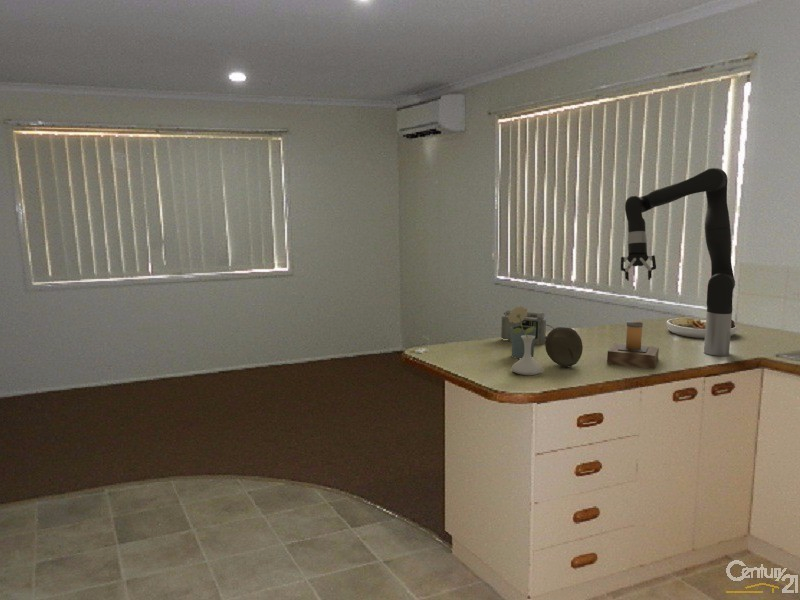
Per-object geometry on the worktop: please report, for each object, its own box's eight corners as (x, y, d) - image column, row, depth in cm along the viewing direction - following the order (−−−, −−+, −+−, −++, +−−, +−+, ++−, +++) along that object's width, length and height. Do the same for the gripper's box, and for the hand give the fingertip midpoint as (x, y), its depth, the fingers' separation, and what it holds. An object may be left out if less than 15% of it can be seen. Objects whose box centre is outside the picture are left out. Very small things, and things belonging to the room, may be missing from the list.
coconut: (586, 364, 241) (587, 326, 239) (576, 372, 229) (578, 332, 227) (550, 359, 248) (551, 322, 246) (538, 367, 236) (540, 328, 234)
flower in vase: (538, 369, 234) (540, 303, 230) (546, 377, 223) (548, 308, 219) (503, 369, 234) (505, 303, 230) (510, 378, 222) (511, 308, 219)
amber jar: (642, 347, 246) (643, 322, 244) (640, 350, 241) (641, 324, 239) (626, 345, 249) (627, 320, 247) (624, 348, 243) (625, 323, 242)
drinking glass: (516, 360, 248) (517, 330, 246) (505, 354, 257) (506, 325, 256) (539, 358, 250) (540, 329, 249) (527, 352, 260) (528, 324, 258)
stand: (658, 359, 249) (658, 346, 248) (654, 368, 234) (655, 354, 234) (613, 354, 256) (613, 341, 255) (607, 363, 242) (607, 350, 241)
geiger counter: (500, 310, 282) (556, 314, 270) (504, 308, 287) (559, 312, 276) (499, 340, 284) (554, 346, 272) (504, 337, 289) (558, 343, 278)
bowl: (669, 338, 289) (670, 321, 288) (663, 326, 317) (664, 310, 316) (742, 342, 280) (743, 325, 279) (729, 329, 308) (730, 313, 307)
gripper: (619, 242, 269) (621, 280, 269) (655, 240, 264) (656, 279, 264) (619, 244, 276) (621, 281, 276) (654, 242, 271) (655, 279, 271)
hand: (638, 280), depth 270 cm, fingers open, 8 cm apart
